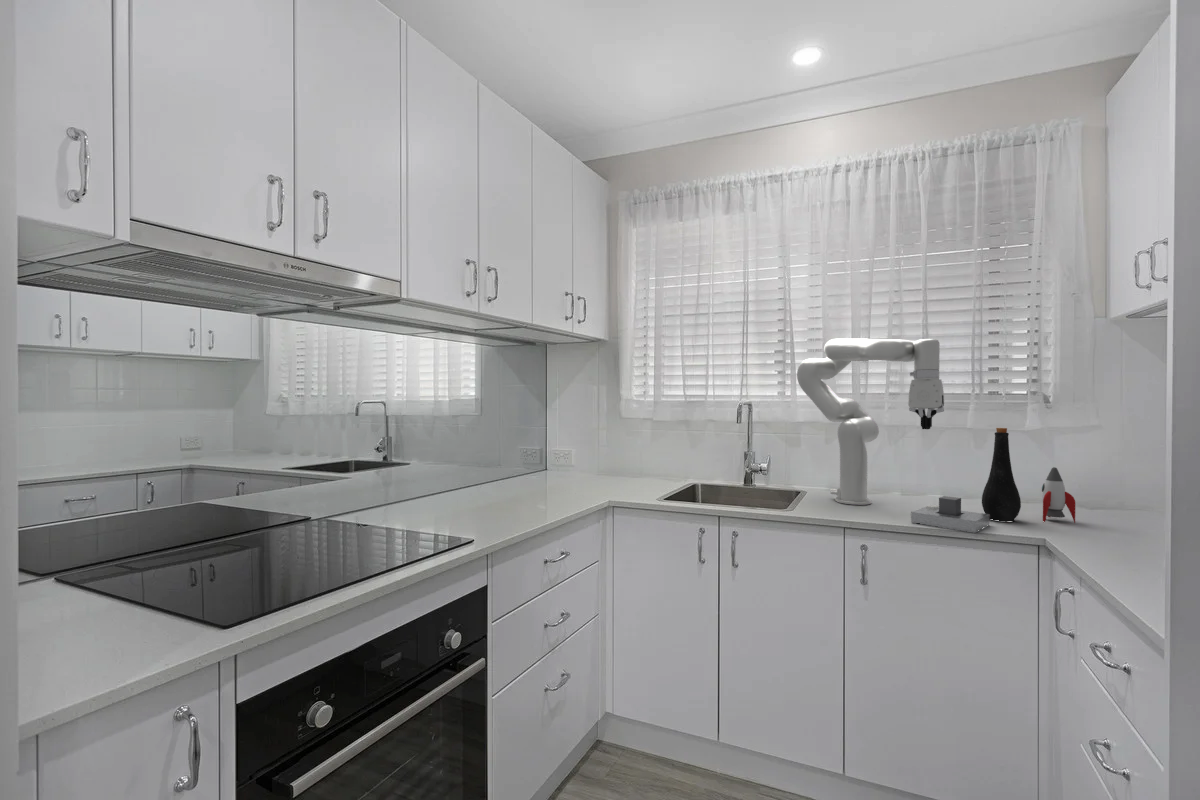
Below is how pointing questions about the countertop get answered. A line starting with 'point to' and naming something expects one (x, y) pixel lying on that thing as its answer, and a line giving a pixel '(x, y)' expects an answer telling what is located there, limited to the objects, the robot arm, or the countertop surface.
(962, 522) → the socket plate
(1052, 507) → the toy
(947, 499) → the plug
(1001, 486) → the bottle
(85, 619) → the countertop surface
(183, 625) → the countertop surface
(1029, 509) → the countertop surface
